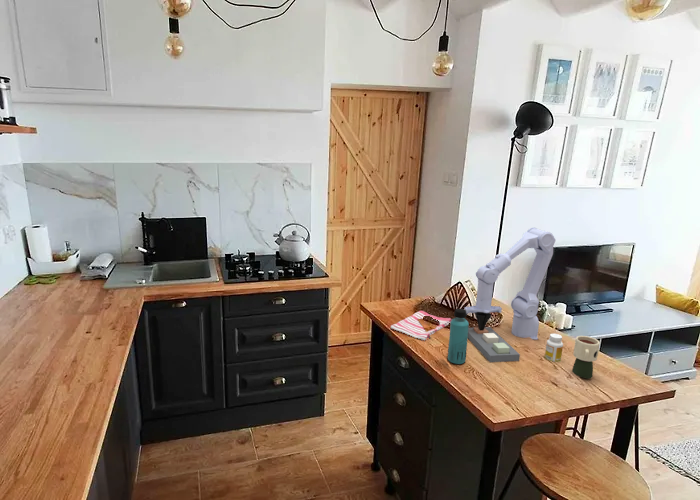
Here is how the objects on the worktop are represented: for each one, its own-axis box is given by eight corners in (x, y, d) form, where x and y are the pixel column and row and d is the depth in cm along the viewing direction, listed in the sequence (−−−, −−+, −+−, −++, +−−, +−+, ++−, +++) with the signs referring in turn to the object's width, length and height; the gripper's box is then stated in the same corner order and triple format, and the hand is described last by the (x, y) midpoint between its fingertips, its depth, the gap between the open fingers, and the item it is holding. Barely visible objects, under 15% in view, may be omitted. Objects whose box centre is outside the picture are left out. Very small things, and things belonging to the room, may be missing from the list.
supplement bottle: (559, 358, 163) (563, 333, 161) (561, 365, 158) (565, 339, 156) (543, 356, 165) (547, 331, 162) (544, 362, 160) (548, 337, 158)
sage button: (503, 350, 163) (504, 342, 162) (508, 355, 159) (509, 347, 158) (492, 350, 162) (493, 343, 162) (497, 356, 158) (498, 348, 158)
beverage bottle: (455, 369, 153) (460, 315, 148) (442, 361, 159) (447, 308, 154) (469, 365, 156) (474, 312, 151) (457, 357, 162) (461, 305, 157)
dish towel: (452, 325, 191) (453, 318, 191) (424, 343, 174) (425, 334, 173) (418, 315, 202) (419, 308, 201) (388, 330, 185) (389, 322, 184)
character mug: (594, 385, 145) (600, 348, 142) (570, 380, 148) (575, 344, 145) (593, 370, 155) (599, 336, 152) (570, 366, 158) (575, 331, 155)
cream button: (492, 340, 171) (493, 332, 170) (497, 344, 167) (498, 337, 166) (482, 340, 171) (483, 333, 170) (487, 345, 166) (487, 337, 166)
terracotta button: (483, 333, 180) (483, 327, 179) (487, 338, 176) (488, 331, 175) (473, 334, 179) (473, 327, 178) (477, 338, 175) (478, 331, 174)
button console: (489, 335, 182) (490, 327, 181) (518, 363, 159) (519, 354, 158) (463, 335, 180) (464, 327, 179) (489, 364, 157) (490, 355, 156)
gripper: (470, 301, 169) (467, 334, 172) (506, 300, 171) (502, 333, 174) (463, 294, 175) (460, 326, 179) (498, 294, 177) (494, 325, 181)
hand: (480, 329), depth 177 cm, fingers closed, pressing on terracotta button
